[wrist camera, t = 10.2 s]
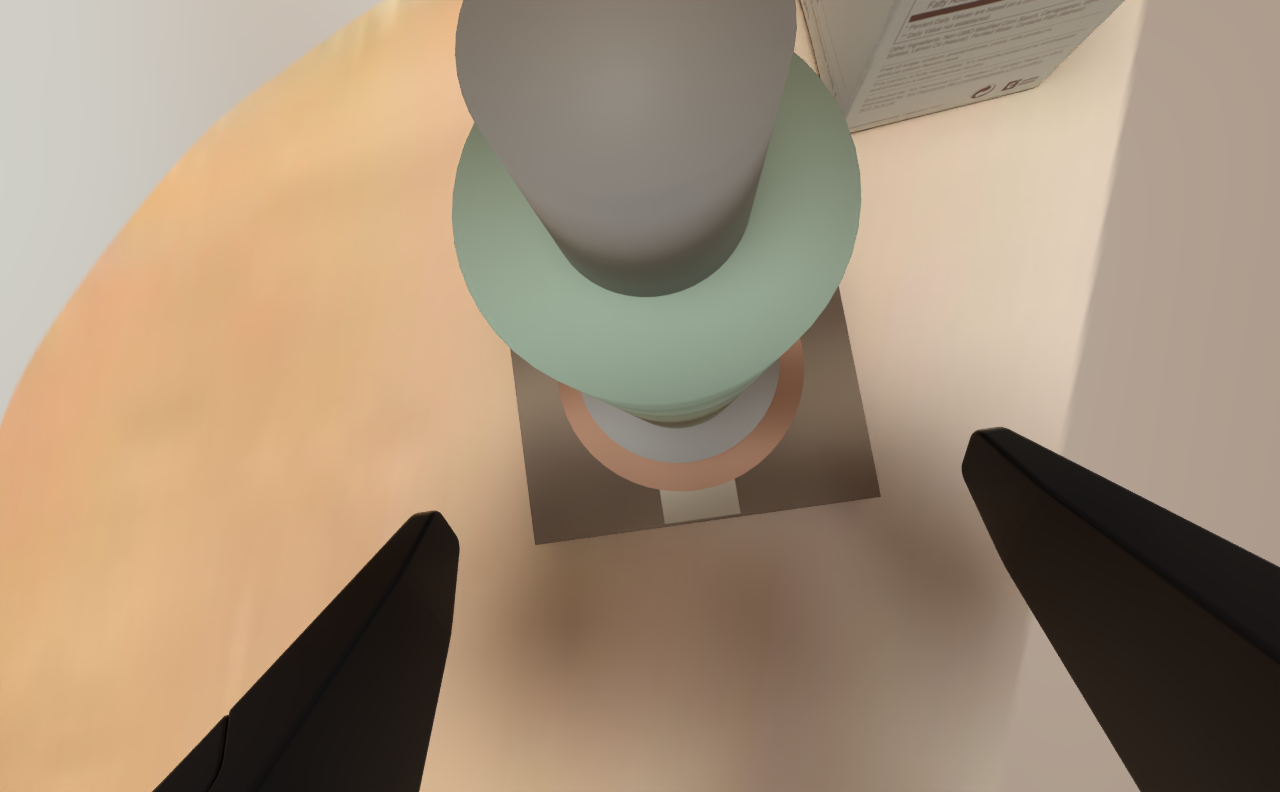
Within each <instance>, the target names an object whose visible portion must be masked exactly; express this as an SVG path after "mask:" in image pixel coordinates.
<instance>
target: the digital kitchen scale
mask: <svg viewBox="0 0 1280 792" xmlns="http://www.w3.org/2000/svg"><path fill="white" fill-rule="evenodd" d="M510 349H511V348H510ZM511 357H512V365H513V373H514V381H515V389H516V396H517V404H518V412H519V420H520V428H521V436H522V444H523V452H524V460H525V467H526V475H527V483H528V491H529V499H530V507H531V515H532V523H533V530H534V538H535V545H538V544H546V543H553V542H560V541H567V540H574V539H581V538H589V537H596V536H603V535H610V534H617V533H624V532H632V531H639V530H646V529H653V528H660V527H667V526H675V525H682V524H689V523H696V522H703V521H710V520H718V519H725V518H732V517H739V516H746V515H753V514H761V513H768V512H775V511H782V510H789V509H796V508H804V507H811V506H818V505H825V504H832V503H839V502H847V501H854V500H861V499H868V498H875V497H881V495H880V490H879V485H878V480H877V475H876V470H875V465H874V460H873V456H872V451H871V446H870V441H869V436H868V431H867V426H866V421H865V416H864V411H863V406H862V401H861V396H860V391H859V386H858V381H857V376H856V371H855V366H854V361H853V356H852V351H851V346H850V341H849V336H848V331H847V326H846V321H845V316H844V311H843V306H842V301H841V296H840V291H839V286H838V287H837V289H836V291H835V292H834V294H833V296H832V298H831V299H830V301H829V303H828V305H827V306H826V307H825V309H824V310H823V311H822V313H821V314H820V315H819V316H818V318H817V319H816V320H815V322H814V323H813V324H812V326H811V327H810V328H809V329H808V330H807V331H806V332H805V333H804V334H803V335H802V336H801V337H800V338H799V339H798V340H797V341H796V342H795V343H794V344H793V345H792V346H791V347H790V348H789V349H788V350H787V351H786V352H785V353H784V354H783V355H781V356H780V370H779V379H778V383H777V387H776V391H775V394H774V397H773V399H772V402H771V404H770V406H769V408H768V410H767V411H766V413H765V415H764V417H763V418H762V419H761V421H760V422H759V423H758V425H757V426H756V427H755V428H754V429H753V430H752V431H751V432H750V433H749V434H748V435H747V436H746V437H745V438H744V439H743V440H741V441H740V442H739V443H738V444H736V445H735V446H733V447H732V448H730V449H728V450H726V451H725V452H723V453H720V454H718V455H716V456H713V457H711V458H707V459H703V460H700V461H695V462H687V463H668V462H660V461H655V460H651V459H648V458H644V457H641V456H639V455H637V454H634V453H632V452H630V451H628V450H627V449H625V448H623V447H622V446H620V445H619V444H617V443H616V442H615V441H613V440H612V439H611V438H610V437H609V436H608V435H607V434H606V433H605V432H604V431H603V430H602V429H601V428H600V427H599V426H598V424H597V423H596V422H595V420H594V419H593V418H592V416H591V414H590V412H589V411H588V409H587V407H586V405H585V402H584V400H583V397H582V395H581V391H579V390H576V389H574V388H572V387H570V386H568V385H565V384H563V383H561V382H559V381H557V380H555V379H553V378H552V377H550V376H548V375H546V374H545V373H543V372H541V371H540V370H538V369H536V368H534V367H533V366H532V365H530V364H529V363H528V362H527V361H525V360H524V359H523V358H521V357H520V356H519V355H518V354H516V353H515V352H514V351H513V350H512V349H511Z"/></svg>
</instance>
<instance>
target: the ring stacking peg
mask: <svg viewBox="0 0 1280 792" xmlns="http://www.w3.org/2000/svg"><path fill="white" fill-rule="evenodd" d="M796 29H797V25H796V4H795V0H463V4H462V7H461V10H460V13H459V19H458V25H457V31H456V46H455V57H456V67H457V76H458V80H459V84H460V88H461V92H462V95H463V98H464V100H465V103H466V105H467V108H468V110H469V113H470V115H471V116H472V118H473V120H474V125H473V127H472V129H471V131H470V134H469V136H468V138H467V140H466V143H465V145H464V148H463V151H462V155H461V158H460V161H459V165H458V168H457V173H456V179H455V185H454V191H453V207H452V223H453V234H454V244H455V248H456V252H457V257H458V261H459V265H460V269H461V271H462V274H463V277H464V279H465V282H466V285H467V287H468V290H469V292H470V294H471V296H472V297H473V299H474V301H475V303H476V305H477V307H478V309H479V310H480V312H481V314H482V315H483V316H484V318H485V319H486V320H487V322H488V323H489V325H490V326H491V327H492V329H493V330H494V331H495V333H496V334H497V335H498V336H499V337H500V338H501V339H502V340H503V341H504V342H505V343H506V344H507V345H508V346H509V347H510V348H511V349H512V350H513V351H514V352H515V353H516V354H518V355H519V356H520V357H521V358H523V359H524V360H525V361H527V362H528V363H529V364H530V365H532V366H533V367H534V368H536V369H538V370H540V371H541V372H543V373H545V374H546V375H548V376H550V377H552V378H553V379H555V380H557V381H559V382H561V383H563V384H565V385H568V386H570V387H572V388H574V389H576V390H579V391H581V395H582V397H583V400H584V402H585V405H586V407H587V409H588V411H589V412H590V414H591V416H592V418H593V419H594V420H595V422H596V423H597V424H598V426H599V427H600V428H601V429H602V430H603V431H604V432H605V433H606V434H607V435H608V436H609V437H610V438H611V439H612V440H613V441H615V442H616V443H617V444H619V445H620V446H622V447H623V448H625V449H627V450H628V451H630V452H632V453H634V454H637V455H639V456H641V457H644V458H648V459H651V460H655V461H660V462H668V463H687V462H695V461H700V460H703V459H707V458H711V457H713V456H716V455H718V454H720V453H723V452H725V451H726V450H728V449H730V448H732V447H733V446H735V445H736V444H738V443H739V442H740V441H741V440H743V439H744V438H745V437H746V436H747V435H748V434H749V433H750V432H751V431H752V430H753V429H754V428H755V427H756V426H757V425H758V423H759V422H760V421H761V419H762V418H763V417H764V415H765V413H766V411H767V410H768V408H769V406H770V404H771V402H772V399H773V397H774V394H775V391H776V387H777V383H778V379H779V370H780V356H781V355H783V354H784V353H785V352H786V351H787V350H788V349H789V348H790V347H791V346H792V345H793V344H794V343H795V342H796V341H797V340H798V339H799V338H800V337H801V336H802V335H803V334H804V333H805V332H806V331H807V330H808V329H809V328H810V327H811V326H812V324H813V323H814V322H815V320H816V319H817V318H818V316H819V315H820V314H821V313H822V311H823V310H824V309H825V307H826V306H827V305H828V303H829V301H830V299H831V298H832V296H833V294H834V292H835V291H836V289H837V287H838V285H839V284H840V282H841V280H842V278H843V275H844V273H845V270H846V268H847V265H848V263H849V260H850V258H851V255H852V252H853V248H854V243H855V239H856V235H857V231H858V227H859V217H860V207H861V184H860V171H859V165H858V160H857V154H856V149H855V145H854V143H853V140H852V137H851V134H850V131H849V128H848V125H847V122H846V120H845V118H844V116H843V114H842V112H841V110H840V108H839V106H838V104H837V102H836V100H835V99H834V97H833V96H832V94H831V93H830V92H829V90H828V89H827V87H826V86H825V84H824V83H823V81H822V80H821V79H820V77H819V76H818V75H817V74H816V73H815V72H814V71H813V70H812V69H811V68H810V67H809V66H808V65H807V63H806V62H805V61H804V60H803V59H802V58H800V57H799V56H798V55H797V54H795V53H794V46H795V37H796Z"/></svg>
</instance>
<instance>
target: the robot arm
mask: <svg viewBox="0 0 1280 792" xmlns="http://www.w3.org/2000/svg"><path fill="white" fill-rule="evenodd" d="M962 474H963V478H964V480H965V483H966V485H967V487H968V489H969V491H970V493H971V496H972V498H973V500H974V502H975V504H976V506H977V509H978V511H979V513H980V515H981V517H982V519H983V522H984V524H985V526H986V528H987V530H988V532H989V535H990V537H991V539H992V541H993V543H994V545H995V548H996V550H997V552H998V554H999V556H1000V558H1001V560H1002V562H1003V564H1004V566H1005V567H1006V569H1007V571H1008V573H1009V574H1010V576H1011V578H1012V579H1013V581H1014V583H1015V584H1016V586H1017V588H1018V589H1019V591H1020V593H1021V594H1022V596H1023V598H1024V599H1025V601H1026V603H1027V604H1028V606H1029V608H1030V609H1031V611H1032V613H1033V614H1034V616H1035V618H1036V619H1037V621H1038V622H1039V624H1040V626H1041V627H1042V629H1043V630H1044V632H1045V634H1046V636H1047V637H1048V639H1049V641H1050V642H1051V644H1052V645H1053V647H1054V649H1055V651H1056V652H1057V654H1058V656H1059V657H1060V659H1061V661H1062V662H1063V664H1064V666H1065V667H1066V669H1067V671H1068V672H1069V674H1070V676H1071V677H1072V679H1073V680H1074V682H1075V684H1076V685H1077V687H1078V688H1079V690H1080V692H1081V693H1082V695H1083V697H1084V699H1085V700H1086V702H1087V704H1088V705H1089V707H1090V709H1091V710H1092V712H1093V714H1094V715H1095V717H1096V719H1097V720H1098V722H1099V724H1100V725H1101V727H1102V729H1103V730H1104V732H1105V734H1106V735H1107V737H1108V738H1109V740H1110V742H1111V744H1112V745H1113V747H1114V748H1115V750H1116V752H1117V753H1118V755H1119V757H1120V758H1121V760H1122V762H1123V763H1124V765H1125V767H1126V768H1127V770H1128V772H1129V773H1130V775H1131V777H1132V778H1133V780H1134V782H1135V783H1136V785H1137V787H1138V788H1139V790H1140V792H1280V567H1279V566H1277V565H1275V564H1273V563H1271V562H1269V561H1267V560H1265V559H1263V558H1261V557H1259V556H1257V555H1255V554H1253V553H1251V552H1249V551H1247V550H1245V549H1243V548H1241V547H1239V546H1237V545H1235V544H1233V543H1231V542H1229V541H1227V540H1226V539H1223V538H1222V537H1220V536H1218V535H1216V534H1214V533H1212V532H1210V531H1208V530H1206V529H1204V528H1202V527H1200V526H1198V525H1196V524H1194V523H1192V522H1190V521H1188V520H1186V519H1184V518H1182V517H1180V516H1178V515H1176V514H1174V513H1172V512H1171V511H1168V510H1167V509H1165V508H1163V507H1161V506H1159V505H1157V504H1155V503H1153V502H1151V501H1149V500H1147V499H1145V498H1143V497H1141V496H1139V495H1137V494H1135V493H1133V492H1131V491H1129V490H1127V489H1125V488H1123V487H1121V486H1119V485H1117V484H1116V483H1114V482H1111V481H1109V480H1108V479H1106V478H1104V477H1102V476H1100V475H1098V474H1096V473H1094V472H1092V471H1090V470H1088V469H1086V468H1084V467H1082V466H1080V465H1078V464H1076V463H1074V462H1072V461H1070V460H1068V459H1066V458H1064V457H1063V456H1061V455H1059V454H1057V453H1055V452H1053V451H1051V450H1049V449H1047V448H1045V447H1043V446H1041V445H1039V444H1037V443H1035V442H1033V441H1031V440H1029V439H1027V438H1025V437H1023V436H1021V435H1019V434H1017V433H1015V432H1013V431H1011V430H1009V429H1007V428H1004V427H994V428H987V429H981V430H977V431H975V432H974V433H973V434H972V435H971V438H970V441H969V444H968V447H967V450H966V453H965V457H964V460H963V463H962ZM458 561H459V541H458V538H457V536H456V534H455V533H454V532H453V530H452V529H451V527H450V526H449V524H448V523H447V521H446V520H445V518H444V517H443V515H442V514H441V513H440V512H438V511H428V512H421V513H416V514H414V515H413V516H411V517H410V518H409V519H408V520H407V521H406V522H405V523H404V524H403V526H402V527H401V528H400V529H399V530H398V531H397V532H396V533H395V534H394V535H393V536H392V537H391V538H390V539H389V541H388V542H387V543H386V544H385V545H384V546H383V547H382V548H381V549H380V550H379V551H378V552H377V553H376V554H375V556H374V557H373V558H372V559H371V560H370V561H369V562H368V563H367V564H366V565H365V566H364V567H363V568H362V569H361V571H360V572H359V573H358V574H357V575H356V576H355V577H354V578H353V579H352V580H351V581H350V582H349V583H348V584H347V586H346V587H345V588H344V589H343V590H342V591H341V592H340V593H339V594H338V595H337V596H336V597H335V598H334V599H333V601H332V602H331V603H330V604H329V605H328V606H327V607H326V608H325V609H324V610H323V611H322V612H321V613H320V614H319V615H318V617H317V618H316V619H315V620H314V621H313V622H312V623H311V624H310V625H309V626H308V627H307V628H306V629H305V630H304V632H303V633H302V634H301V635H300V636H299V637H298V638H297V639H296V640H295V641H294V642H293V643H292V644H291V645H290V647H289V648H288V649H287V650H286V651H285V652H284V653H283V654H282V655H281V656H280V657H279V658H278V659H277V660H276V662H275V663H274V664H273V665H272V666H271V667H270V668H269V669H268V670H267V671H266V672H265V673H264V674H263V675H262V677H261V678H260V679H259V680H258V681H257V682H256V683H255V684H254V685H253V686H252V687H251V688H250V689H249V690H248V692H247V693H246V694H245V695H244V696H243V697H242V698H241V699H240V700H239V701H238V702H237V703H236V704H235V705H234V706H233V708H232V709H231V710H230V712H229V715H226V716H224V717H223V718H222V719H221V720H220V721H219V722H218V723H217V724H216V726H215V727H214V728H213V729H212V730H211V731H210V732H209V733H208V734H207V735H206V736H205V737H204V738H203V739H202V741H201V742H200V743H199V744H198V745H197V746H196V747H195V748H194V749H193V750H192V751H191V752H190V753H189V754H188V755H187V756H186V757H185V758H184V759H183V760H182V761H181V762H180V763H179V765H178V766H177V767H176V768H175V769H174V770H173V771H172V772H171V773H170V774H169V775H168V776H167V777H166V778H165V779H164V780H163V781H162V782H161V783H160V784H159V785H158V786H157V787H156V788H155V789H154V790H153V791H152V792H419V790H420V785H421V780H422V775H423V771H424V766H425V761H426V756H427V751H428V746H429V741H430V736H431V731H432V727H433V722H434V717H435V712H436V707H437V702H438V697H439V692H440V687H441V683H442V678H443V673H444V668H445V663H446V658H447V653H448V648H449V643H450V637H451V631H452V623H453V613H454V603H455V592H456V582H457V571H458Z"/></svg>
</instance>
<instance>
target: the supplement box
mask: <svg viewBox="0 0 1280 792" xmlns="http://www.w3.org/2000/svg"><path fill="white" fill-rule="evenodd" d="M1123 1H1124V0H801V4H802V8H803V11H804V15H805V18H806V22H807V25H808V29H809V33H810V37H811V41H812V45H813V49H814V53H815V57H816V61H817V66H818V70H819V74H820V78H821V80H822V81H823V83H824V84H825V86H826V87H827V89H828V90H829V92H830V93H831V94H832V96H833V97H834V99H835V100H836V102H837V104H838V106H839V108H840V110H841V112H842V114H843V116H844V118H845V120H846V122H847V125H848V128H849V131H850V133H851V132H855V131H860V130H865V129H869V128H873V127H877V126H880V125H884V124H889V123H894V122H898V121H901V120H906V119H910V118H913V117H917V116H923V115H927V114H930V113H935V112H939V111H943V110H947V109H951V108H955V107H959V106H964V105H968V104H971V103H976V102H980V101H984V100H988V99H992V98H996V97H999V96H1003V95H1007V94H1012V93H1016V92H1020V91H1023V90H1027V89H1031V88H1034V87H1036V86H1038V85H1040V84H1041V83H1042V82H1043V81H1044V80H1045V79H1046V78H1047V77H1048V76H1049V75H1050V74H1051V73H1052V72H1053V71H1054V70H1055V69H1056V68H1057V67H1058V66H1059V65H1060V64H1061V63H1062V62H1063V61H1064V60H1065V59H1066V58H1067V57H1068V56H1069V55H1070V54H1071V53H1072V52H1073V51H1074V50H1075V49H1076V48H1077V47H1078V46H1079V45H1080V44H1081V43H1082V42H1083V41H1084V40H1085V39H1086V38H1087V37H1088V36H1089V35H1090V34H1091V33H1092V32H1093V31H1094V30H1095V29H1096V28H1097V27H1098V26H1099V25H1100V24H1101V23H1102V22H1103V21H1104V20H1105V19H1106V18H1108V17H1109V16H1110V15H1111V14H1112V12H1113V11H1114V10H1115V9H1116V8H1117V7H1118V6H1119V5H1120V4H1121V3H1122V2H1123Z"/></svg>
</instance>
